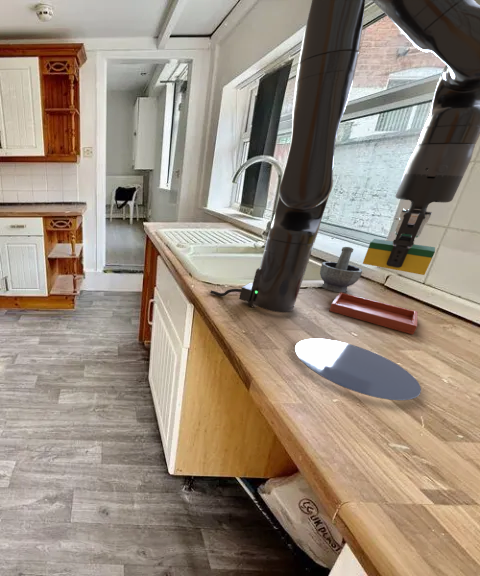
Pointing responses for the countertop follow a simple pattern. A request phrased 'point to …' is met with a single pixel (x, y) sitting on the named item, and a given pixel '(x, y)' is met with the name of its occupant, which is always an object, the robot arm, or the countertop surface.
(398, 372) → the mirror
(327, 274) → the mortar and pestle
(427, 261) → the sponge
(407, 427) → the countertop surface
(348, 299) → the sponge dish
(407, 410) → the countertop surface
